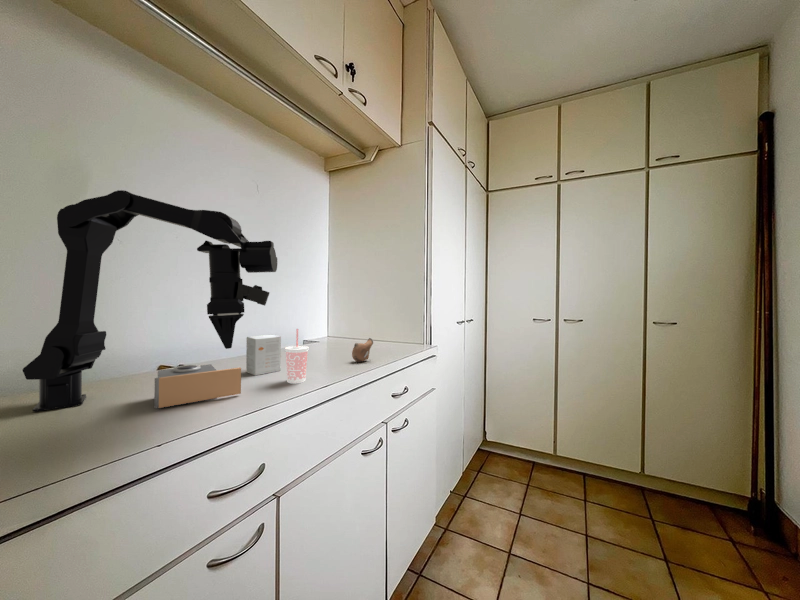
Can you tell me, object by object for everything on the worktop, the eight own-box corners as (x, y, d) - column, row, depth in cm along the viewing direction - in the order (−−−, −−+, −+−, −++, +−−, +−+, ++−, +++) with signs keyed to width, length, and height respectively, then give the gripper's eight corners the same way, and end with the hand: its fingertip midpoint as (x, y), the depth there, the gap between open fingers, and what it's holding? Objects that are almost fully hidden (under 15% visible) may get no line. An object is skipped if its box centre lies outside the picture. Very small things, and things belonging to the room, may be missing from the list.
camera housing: (157, 397, 67) (157, 367, 66) (210, 389, 73) (211, 361, 73) (159, 408, 60) (159, 375, 60) (217, 398, 67) (217, 368, 67)
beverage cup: (279, 382, 80) (279, 329, 80) (294, 376, 86) (295, 327, 85) (298, 385, 78) (299, 330, 77) (313, 379, 83) (314, 328, 83)
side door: (154, 407, 60) (154, 378, 60) (239, 392, 70) (240, 367, 70) (154, 408, 59) (154, 379, 59) (240, 393, 69) (241, 368, 69)
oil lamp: (369, 358, 112) (370, 337, 112) (376, 360, 109) (377, 338, 109) (349, 362, 106) (350, 339, 105) (356, 364, 103) (357, 340, 103)
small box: (271, 367, 95) (272, 334, 95) (281, 370, 92) (281, 336, 92) (245, 372, 89) (246, 336, 89) (254, 376, 86) (255, 338, 85)
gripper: (270, 270, 61) (273, 347, 62) (262, 275, 78) (265, 336, 78) (204, 269, 56) (209, 354, 56) (211, 276, 72) (214, 341, 73)
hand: (228, 345), depth 66 cm, fingers open, 9 cm apart
